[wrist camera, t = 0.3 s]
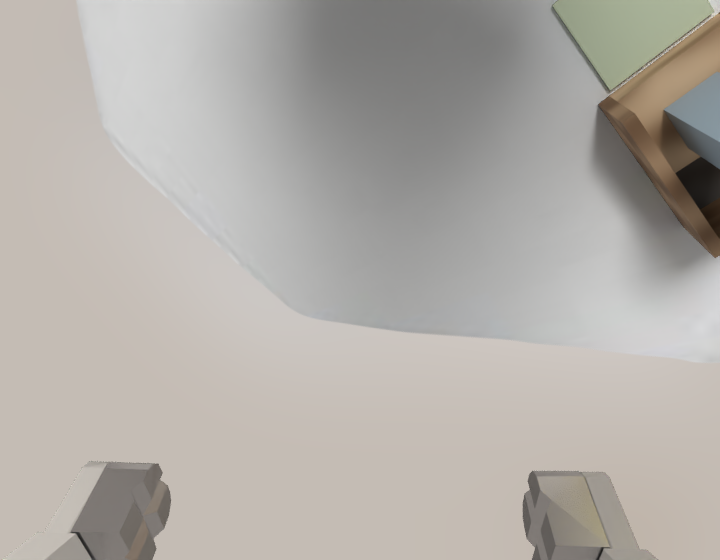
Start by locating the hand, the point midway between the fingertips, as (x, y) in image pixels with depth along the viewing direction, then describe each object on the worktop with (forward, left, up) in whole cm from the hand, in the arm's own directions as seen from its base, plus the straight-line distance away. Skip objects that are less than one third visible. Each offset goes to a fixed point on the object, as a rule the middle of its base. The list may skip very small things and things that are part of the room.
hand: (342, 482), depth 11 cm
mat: (-7, +21, -47) cm, 52 cm away
